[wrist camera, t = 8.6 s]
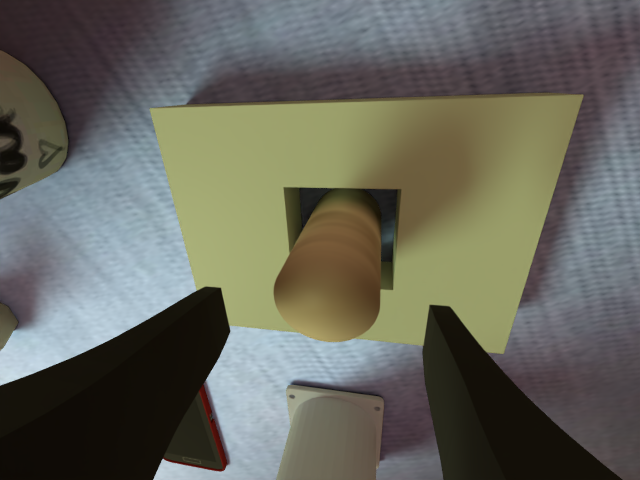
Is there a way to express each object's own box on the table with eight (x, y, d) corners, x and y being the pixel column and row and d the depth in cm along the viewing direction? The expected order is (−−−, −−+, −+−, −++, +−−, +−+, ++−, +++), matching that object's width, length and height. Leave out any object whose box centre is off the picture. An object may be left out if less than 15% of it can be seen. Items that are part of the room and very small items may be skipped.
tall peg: (381, 248, 19) (380, 345, 12) (317, 247, 20) (281, 338, 13) (381, 185, 17) (380, 254, 10) (311, 187, 18) (265, 253, 11)
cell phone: (168, 452, 36) (163, 461, 35) (128, 361, 30) (120, 369, 29) (230, 463, 35) (226, 473, 34) (202, 370, 28) (196, 379, 27)
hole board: (487, 317, 20) (503, 353, 17) (225, 295, 23) (205, 322, 20) (546, 92, 14) (584, 94, 11) (185, 104, 17) (149, 108, 15)
